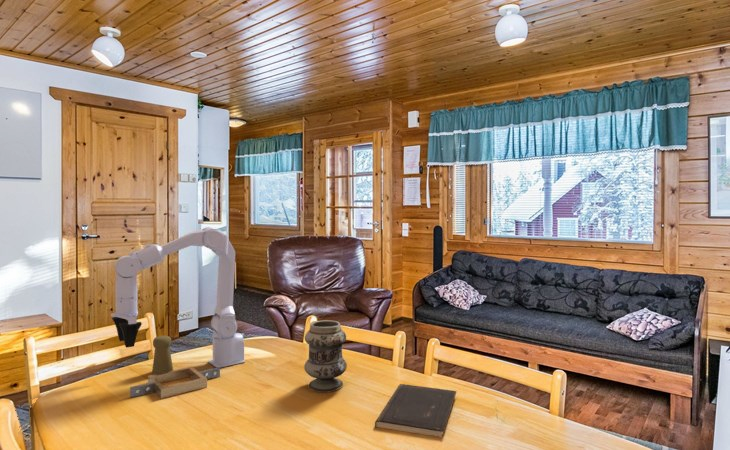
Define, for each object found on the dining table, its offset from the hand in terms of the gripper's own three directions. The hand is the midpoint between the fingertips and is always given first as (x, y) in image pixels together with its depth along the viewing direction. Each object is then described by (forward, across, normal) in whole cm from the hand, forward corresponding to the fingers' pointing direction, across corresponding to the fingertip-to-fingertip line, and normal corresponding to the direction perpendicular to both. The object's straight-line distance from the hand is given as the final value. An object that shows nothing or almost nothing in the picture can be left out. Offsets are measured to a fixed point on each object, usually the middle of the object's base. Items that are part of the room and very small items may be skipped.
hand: (126, 343), depth 138 cm
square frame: (+10, +14, +10) cm, 20 cm away
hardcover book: (+10, +68, +52) cm, 86 cm away
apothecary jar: (+10, +40, +43) cm, 60 cm away
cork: (+11, 0, +10) cm, 15 cm away
